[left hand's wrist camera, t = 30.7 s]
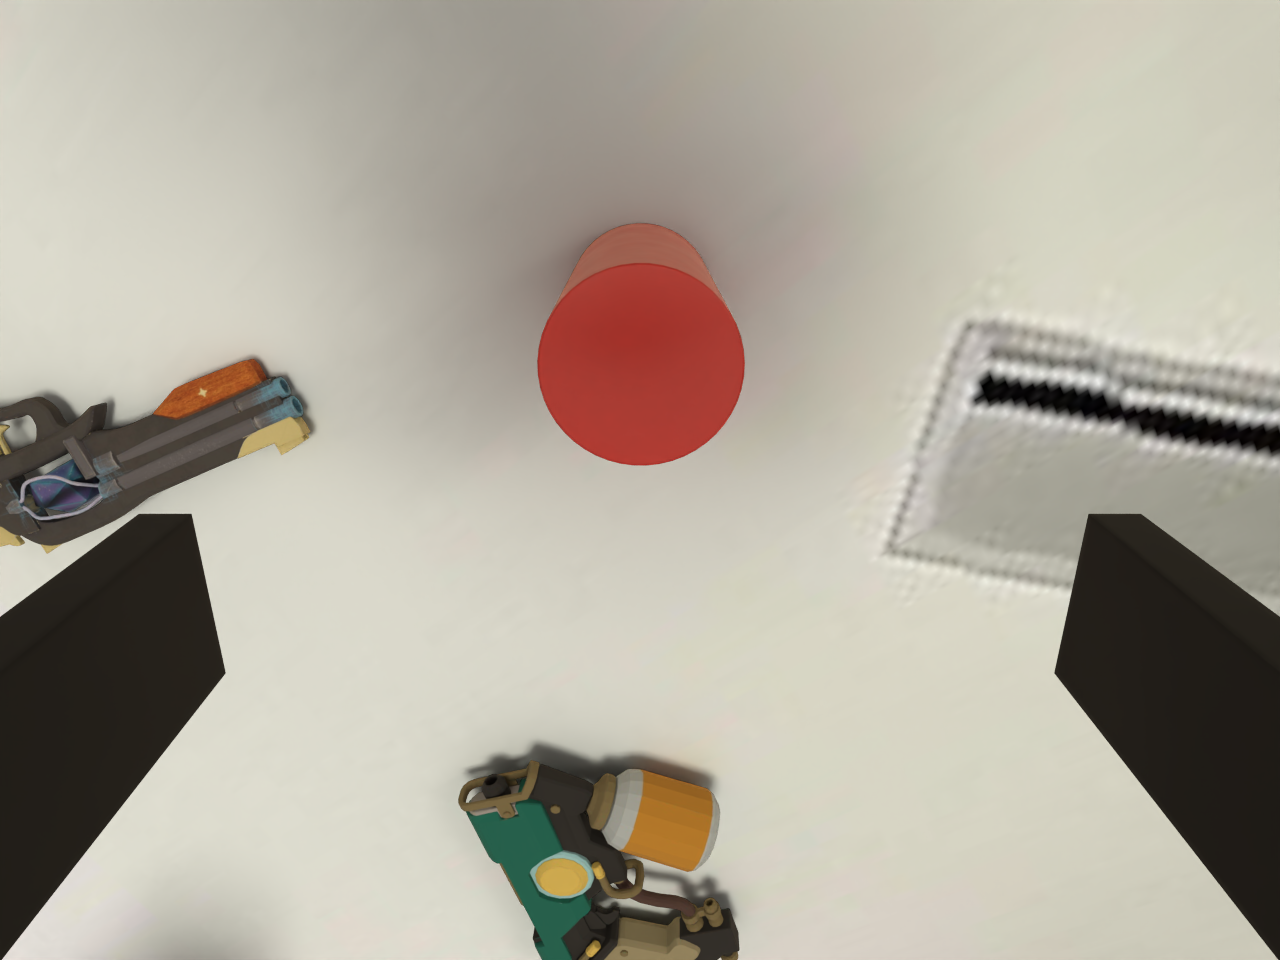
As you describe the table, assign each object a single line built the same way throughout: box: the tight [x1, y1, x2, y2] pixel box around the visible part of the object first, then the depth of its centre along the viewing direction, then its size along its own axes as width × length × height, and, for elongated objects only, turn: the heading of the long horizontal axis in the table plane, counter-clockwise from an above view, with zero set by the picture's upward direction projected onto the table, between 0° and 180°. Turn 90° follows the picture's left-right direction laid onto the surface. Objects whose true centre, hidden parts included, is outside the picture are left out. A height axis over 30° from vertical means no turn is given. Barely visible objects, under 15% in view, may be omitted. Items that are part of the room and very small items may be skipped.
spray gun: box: [458, 760, 739, 960], centre depth 47 cm, size 4×17×15 cm
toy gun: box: [0, 359, 310, 553], centre depth 38 cm, size 3×19×10 cm
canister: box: [537, 223, 745, 465], centre depth 31 cm, size 6×6×13 cm
